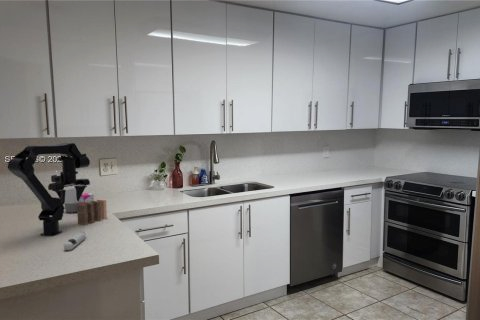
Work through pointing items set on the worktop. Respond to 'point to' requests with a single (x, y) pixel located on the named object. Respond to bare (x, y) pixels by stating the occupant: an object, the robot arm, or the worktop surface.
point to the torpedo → (74, 240)
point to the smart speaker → (71, 201)
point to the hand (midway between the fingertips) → (70, 202)
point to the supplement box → (86, 198)
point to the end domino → (103, 208)
